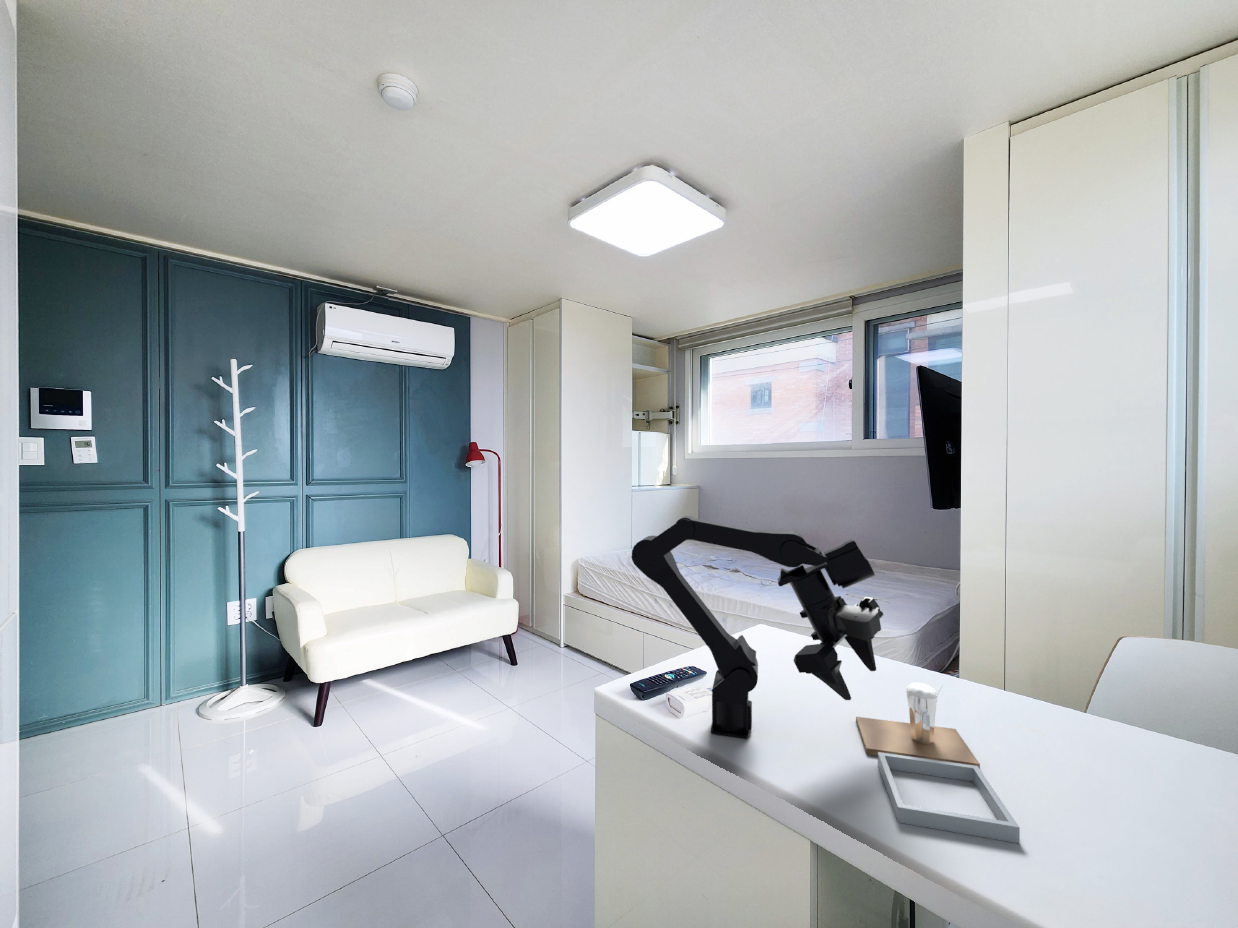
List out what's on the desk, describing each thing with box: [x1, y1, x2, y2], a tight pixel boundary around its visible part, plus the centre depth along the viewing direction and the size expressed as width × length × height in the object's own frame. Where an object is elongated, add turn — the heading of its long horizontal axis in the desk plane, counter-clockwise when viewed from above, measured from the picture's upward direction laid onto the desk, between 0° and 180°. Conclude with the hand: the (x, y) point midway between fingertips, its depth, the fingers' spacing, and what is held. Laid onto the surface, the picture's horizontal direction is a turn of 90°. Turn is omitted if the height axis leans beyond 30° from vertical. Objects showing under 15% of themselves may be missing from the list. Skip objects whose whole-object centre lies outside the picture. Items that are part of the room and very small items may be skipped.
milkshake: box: [905, 682, 943, 744], centre depth 86 cm, size 4×5×10 cm
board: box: [855, 716, 981, 770], centre depth 87 cm, size 16×11×1 cm
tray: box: [877, 752, 1020, 844], centre depth 72 cm, size 14×14×2 cm
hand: (861, 684), depth 86 cm, fingers open, 9 cm apart
